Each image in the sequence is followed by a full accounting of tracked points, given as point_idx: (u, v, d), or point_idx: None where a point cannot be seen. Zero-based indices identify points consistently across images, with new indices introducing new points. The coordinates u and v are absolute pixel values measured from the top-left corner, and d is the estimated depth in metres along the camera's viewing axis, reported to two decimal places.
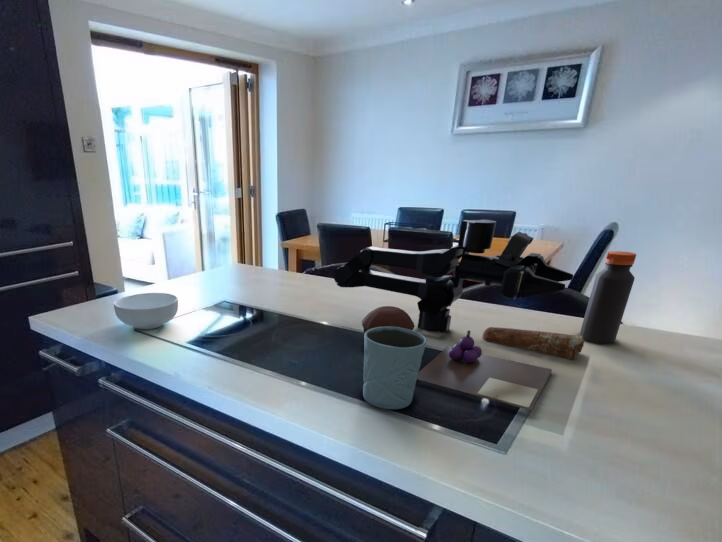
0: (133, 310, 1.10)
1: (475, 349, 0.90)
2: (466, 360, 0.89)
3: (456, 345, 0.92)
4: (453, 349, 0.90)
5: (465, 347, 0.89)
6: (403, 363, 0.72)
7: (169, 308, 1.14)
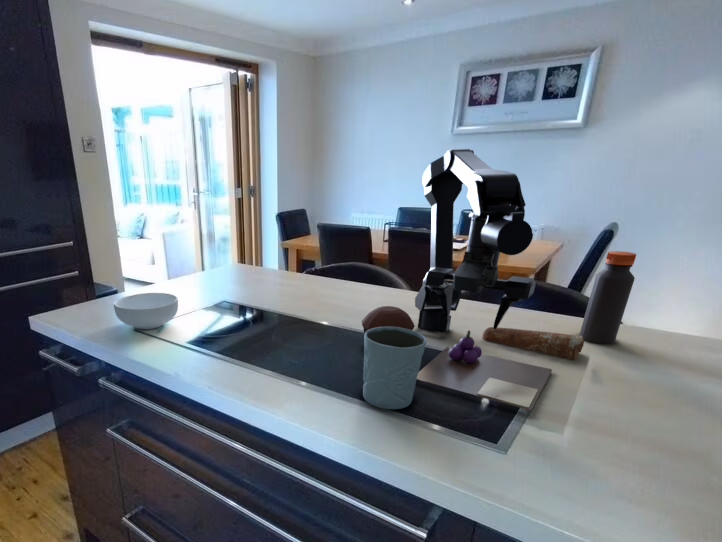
0: (133, 310, 1.10)
1: (475, 349, 0.90)
2: (466, 360, 0.89)
3: (456, 345, 0.92)
4: (453, 349, 0.90)
5: (465, 347, 0.89)
6: (402, 363, 0.72)
7: (169, 308, 1.14)
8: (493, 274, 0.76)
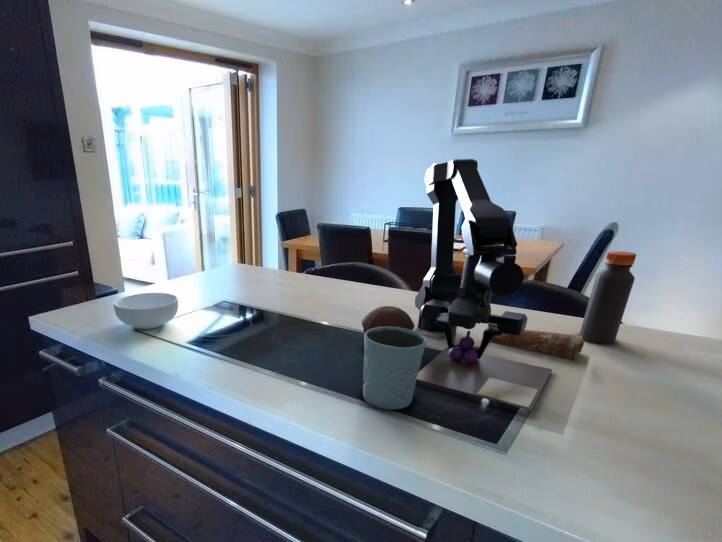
0: (133, 310, 1.10)
1: (475, 349, 0.90)
2: (466, 360, 0.89)
3: (456, 345, 0.92)
4: (453, 349, 0.90)
5: (465, 347, 0.89)
6: (402, 363, 0.72)
7: (169, 308, 1.14)
8: (486, 312, 0.79)
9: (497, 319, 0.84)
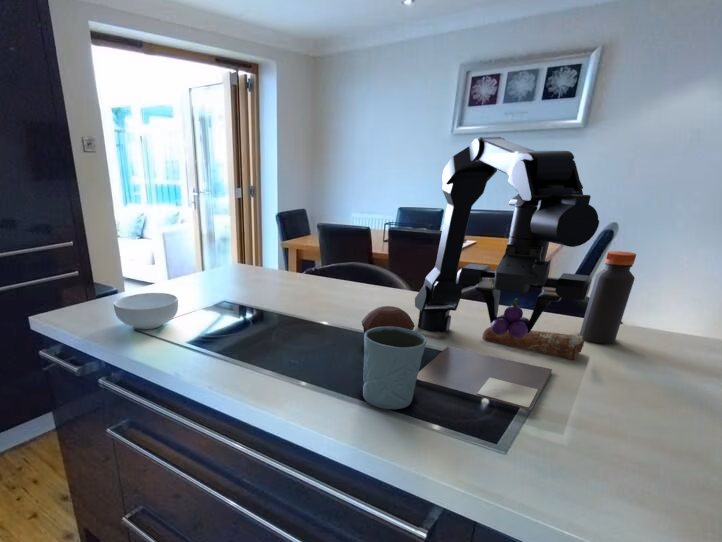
0: (133, 310, 1.10)
1: (524, 321, 0.75)
2: (513, 334, 0.74)
3: (499, 317, 0.77)
4: (497, 321, 0.75)
5: (512, 318, 0.74)
6: (402, 363, 0.72)
7: (169, 308, 1.14)
8: (545, 270, 0.64)
9: (554, 282, 0.69)
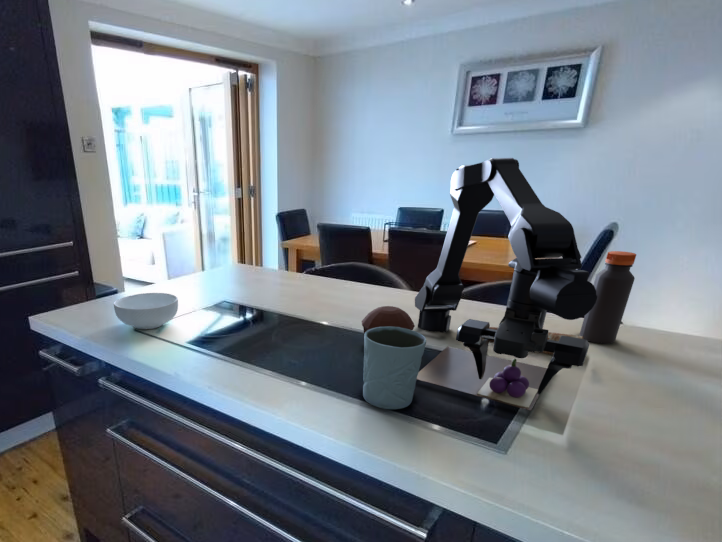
0: (133, 310, 1.10)
1: (522, 380, 0.76)
2: (512, 394, 0.75)
3: (498, 375, 0.79)
4: (496, 380, 0.76)
5: (510, 378, 0.76)
6: (402, 363, 0.72)
7: (169, 308, 1.14)
8: (543, 339, 0.65)
9: None
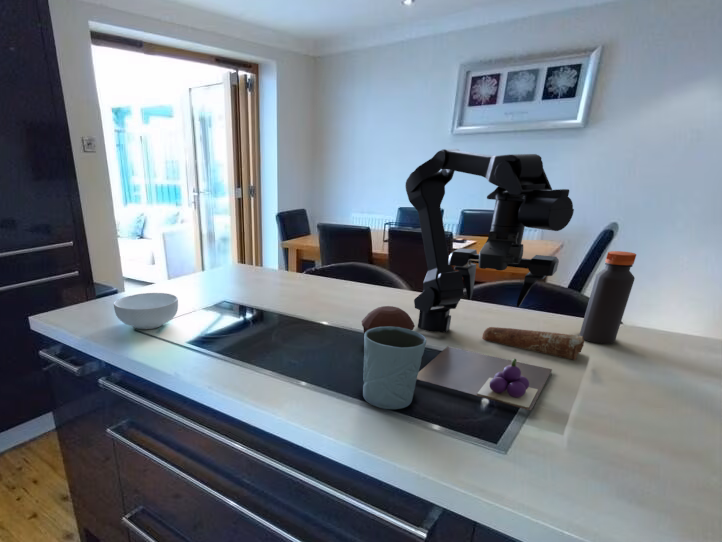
0: (133, 310, 1.10)
1: (522, 380, 0.76)
2: (512, 394, 0.75)
3: (498, 375, 0.79)
4: (496, 380, 0.76)
5: (510, 378, 0.76)
6: (402, 363, 0.72)
7: (169, 308, 1.14)
8: (519, 251, 0.79)
9: None
